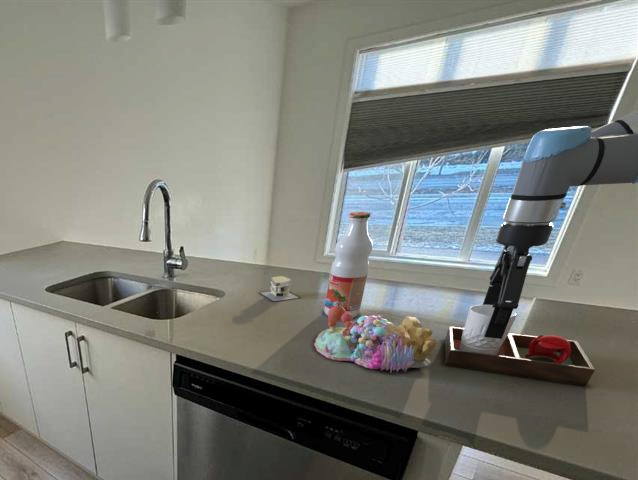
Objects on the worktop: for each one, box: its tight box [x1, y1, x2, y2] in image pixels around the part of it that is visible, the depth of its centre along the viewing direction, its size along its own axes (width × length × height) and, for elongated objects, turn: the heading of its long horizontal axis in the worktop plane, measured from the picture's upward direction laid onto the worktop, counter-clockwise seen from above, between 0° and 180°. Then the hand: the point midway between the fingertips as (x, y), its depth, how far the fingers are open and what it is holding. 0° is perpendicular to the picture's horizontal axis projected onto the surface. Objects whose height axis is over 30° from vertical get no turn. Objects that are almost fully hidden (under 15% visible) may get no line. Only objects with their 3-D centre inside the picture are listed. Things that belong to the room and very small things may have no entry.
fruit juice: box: [323, 211, 374, 319], centre depth 113 cm, size 9×9×28 cm
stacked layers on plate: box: [260, 275, 299, 302], centre depth 137 cm, size 10×9×6 cm
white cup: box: [459, 304, 518, 355], centre depth 89 cm, size 8×8×10 cm
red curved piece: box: [525, 334, 571, 364], centre depth 84 cm, size 8×6×6 cm
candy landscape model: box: [313, 305, 438, 374], centre depth 96 cm, size 25×24×9 cm
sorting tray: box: [444, 326, 596, 387], centre depth 88 cm, size 22×14×4 cm, turn 57°
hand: (489, 325), depth 88 cm, fingers open, 13 cm apart
